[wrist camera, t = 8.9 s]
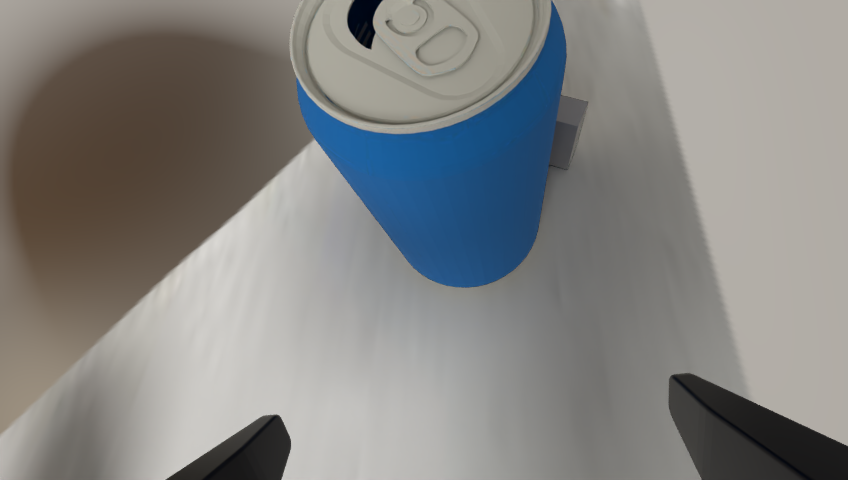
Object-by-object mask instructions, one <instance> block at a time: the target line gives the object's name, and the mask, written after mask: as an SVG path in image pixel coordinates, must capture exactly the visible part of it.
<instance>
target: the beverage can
mask: <svg viewBox="0 0 848 480" xmlns="http://www.w3.org/2000/svg"><path fill="white" fill-rule="evenodd" d="M290 55H291V61H292V64H293V68H294V71H295V73H296V76H297V91H298V100H299V104H300V108H301V112H302V115H303V117H304V120H305V122H306V124H307V127H308V129H309V130H310V132H311V133H312V135H313V136H314V138H315V140H316V141H317V142H318V144H319V145H320V146H321V148H322V149H323V150H324V151H325V153H326V154H327V155H328V157H329V158H330V159H331V161H332V162H333V163H334V165H335V166H336V167H337V169H338V170H339V171H340V173H341V174H342V175H343V176H344V178H345V179H346V180H347V182H348V183H349V184H350V186H351V187H352V188H353V190H354V191H355V192H356V194H357V195H358V196H359V197H360V199H361V200H362V201H363V203H364V204H365V205H366V207H367V208H368V209H369V211H370V212H371V213H372V215H373V216H374V217H375V219H376V220H377V221H378V222H379V224H380V225H381V226H382V228H383V229H384V230H385V232H386V233H387V234H388V236H389V237H390V238H391V240H392V241H393V242H394V243H395V245H396V246H397V247H398V249H399V250H400V251H401V253H402V254H403V255H404V257H405V258H406V259H407V261H408V262H409V263H410V264H411V265H412V266H413V267H414V268H415V269H416V270H417V271H418V272H419V273H421V274H422V275H424V276H425V277H427V278H428V279H430V280H433V281H435V282H437V283H440V284H443V285H447V286H453V287H476V286H481V285H485V284H488V283H491V282H494V281H496V280H498V279H500V278H502V277H504V276H506V275H507V274H508V273H510V272H511V271H513V270H514V269H515V268H516V267H517V266H518V265H519V264H520V263H521V262H522V261H523V260H524V259H525V257H526V256H527V254H528V253H529V251H530V250H531V248H532V246H533V244H534V241H535V239H536V235H537V232H538V227H539V221H540V215H541V209H542V203H543V197H544V191H545V185H546V179H547V173H548V167H549V161H550V155H551V149H552V143H553V137H554V132H555V126H556V120H557V114H558V108H559V102H560V96H561V90H562V84H563V78H564V72H565V64H566V39H565V34H564V30H563V25H562V22H561V19H560V17H559V14H558V12H557V9H556V7H555V5H554V3H553V2H552V0H301V2H300V4H299V6H298V8H297V11H296V13H295V16H294V19H293V23H292V27H291V32H290Z"/></svg>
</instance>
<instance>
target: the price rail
mask: <svg viewBox="0 0 848 480" xmlns="http://www.w3.org/2000/svg"><path fill="white" fill-rule="evenodd" d="M587 105H588V102H587V101H583V100H579V99H574V98H570V97H566V96H562V95H561V96H560V102H559V108H558V114H557V120H556V126H555V132H554V137H553V143H552V149H551V155H550V161H549V165H553V166H556V167H559V168H563V169H566V170H567V169H568V167H569V164H570V162H571V159H572V157H573V154H574V152H575V149H576V146H577V142H578V139H579V135H580V131H581V127H582V124H583V120H584V116H585V112H586V108H587Z"/></svg>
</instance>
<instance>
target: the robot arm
mask: <svg viewBox="0 0 848 480" xmlns="http://www.w3.org/2000/svg"><path fill="white" fill-rule="evenodd" d="M669 409H670V413H671V416H672V418H673V420H674V423H675V425H676V427H677V429H678V431H679V433H680V435H681V437H682V439H683V441H684V443H685V446H686V448H687V450H688V452H689V454H690V456H691V458H692V460H693V462H694V464H695V467H696V469H697V471H698V473H699V475H700V476H701V478H702V480H848V446H846V445H844V444H842V443H840V442H837V441H836V440H833V439H831V438H829V437H827V436H825V435H823V434H820V433H818V432H816V431H814V430H812V429H810V428H808V427H805V426H803V425H801V424H799V423H797V422H794V421H792V420H790V419H788V418H786V417H784V416H782V415H779V414H777V413H775V412H773V411H771V410H769V409H767V408H764V407H762V406H760V405H758V404H756V403H754V402H752V401H749V400H747V399H745V398H743V397H741V396H739V395H736V394H734V393H732V392H730V391H728V390H726V389H723V388H721V387H719V386H717V385H715V384H713V383H711V382H708V381H706V380H704V379H702V378H700V377H698V376H695V375H693V374H690V373H684V374H674V375H671V376H670V378H669ZM290 449H291V439H290V436H289V434H288V432H287V430H286V427H285V425H284V423H283V421H282V419H281V417H280V416H279V415H266V416H262V417H260V418H259V419H257V420H256V421H254V422H253V423H251V424H250V425H248V426H247V427H245V428H244V429H242V430H241V431H239V432H238V433H236V434H235V435H233V436H231V437H230V438H228V439H227V440H225V441H224V442H222V443H221V444H219V445H218V446H216V447H215V448H213V449H212V450H210V451H209V452H207V453H206V454H204V455H202V456H201V457H199V458H198V459H196V460H195V461H193V462H192V463H190V464H189V465H187V466H186V467H184V468H183V469H181V470H180V471H178V472H177V473H175V474H174V475H172V476H170V477H169V478H167V479H166V480H281V479H282V476H283V473H284V469H285V466H286V463H287V460H288V456H289V453H290Z"/></svg>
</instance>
